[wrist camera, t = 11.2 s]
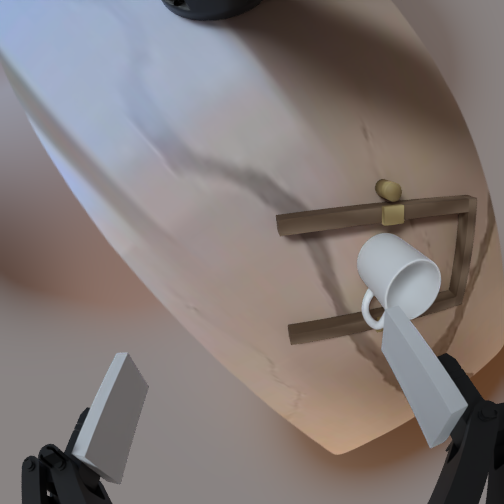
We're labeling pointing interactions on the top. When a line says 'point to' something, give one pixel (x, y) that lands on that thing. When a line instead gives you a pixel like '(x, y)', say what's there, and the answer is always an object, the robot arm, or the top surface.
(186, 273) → the top surface
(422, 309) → the cup
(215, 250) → the top surface
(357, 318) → the track
